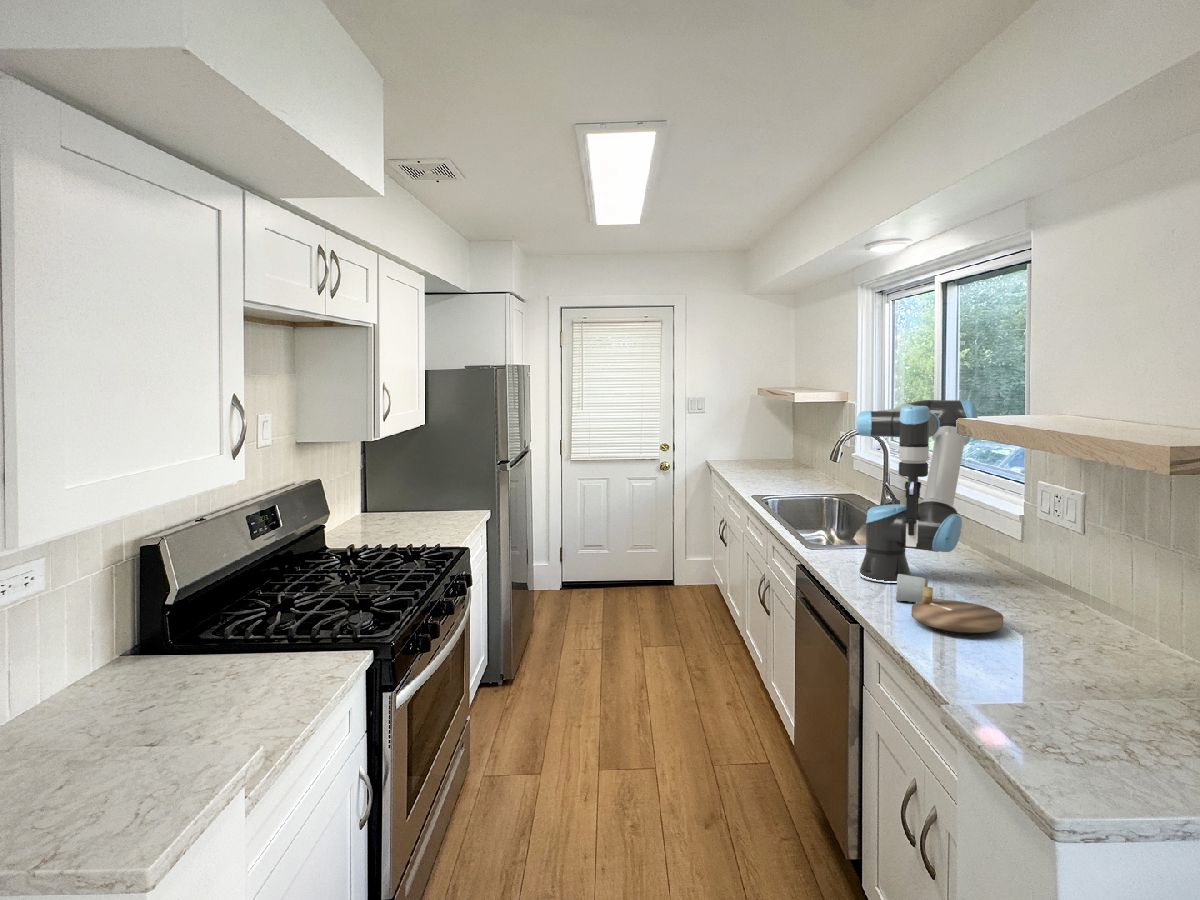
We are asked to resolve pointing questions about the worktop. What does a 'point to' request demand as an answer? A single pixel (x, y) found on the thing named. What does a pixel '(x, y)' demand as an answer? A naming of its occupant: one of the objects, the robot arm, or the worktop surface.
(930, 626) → the turntable base
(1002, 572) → the worktop surface
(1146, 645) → the worktop surface
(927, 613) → the disc
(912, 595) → the ceramic mug
